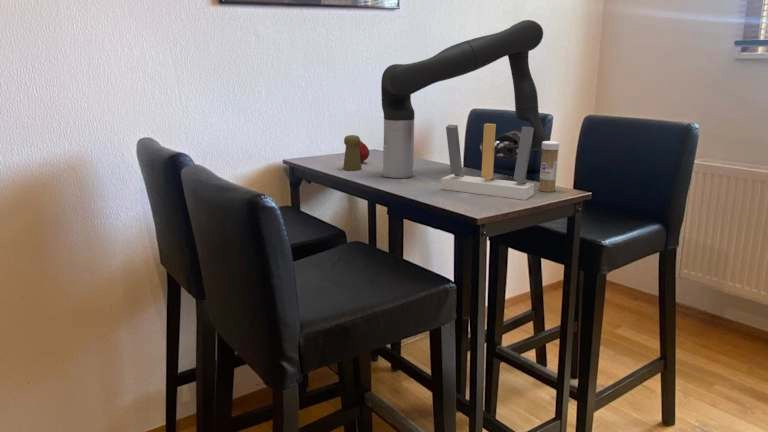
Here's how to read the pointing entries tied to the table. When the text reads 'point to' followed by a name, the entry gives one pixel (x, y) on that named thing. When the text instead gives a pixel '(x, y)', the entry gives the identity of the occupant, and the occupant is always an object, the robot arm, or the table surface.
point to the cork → (352, 153)
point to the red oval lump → (363, 151)
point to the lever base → (488, 186)
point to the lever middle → (488, 151)
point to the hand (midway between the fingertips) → (489, 152)
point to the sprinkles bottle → (548, 166)
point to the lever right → (523, 154)
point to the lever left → (454, 149)
